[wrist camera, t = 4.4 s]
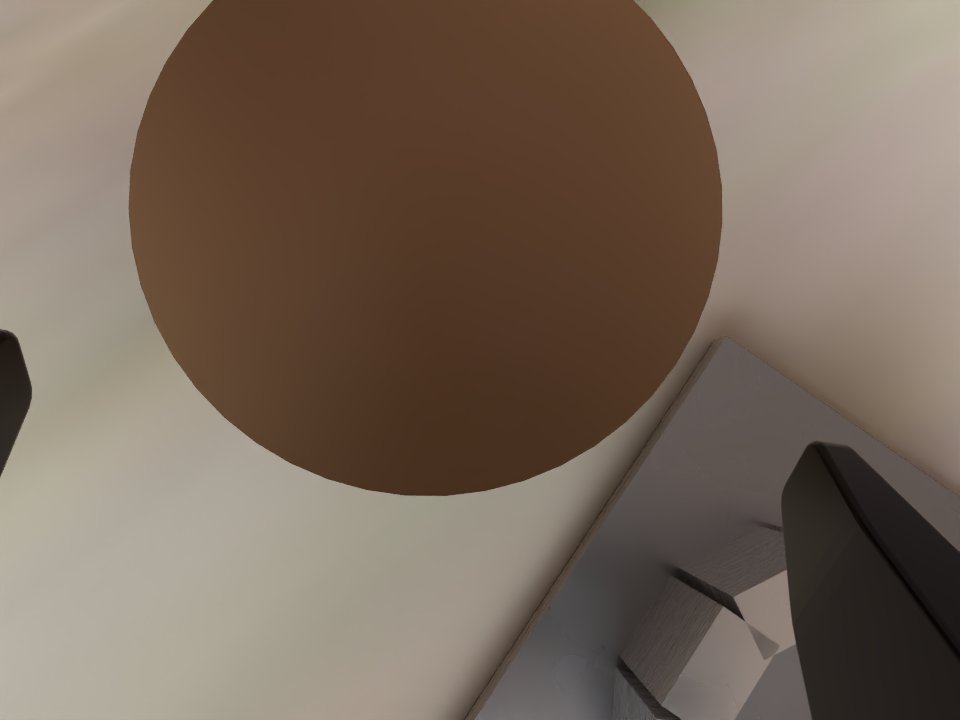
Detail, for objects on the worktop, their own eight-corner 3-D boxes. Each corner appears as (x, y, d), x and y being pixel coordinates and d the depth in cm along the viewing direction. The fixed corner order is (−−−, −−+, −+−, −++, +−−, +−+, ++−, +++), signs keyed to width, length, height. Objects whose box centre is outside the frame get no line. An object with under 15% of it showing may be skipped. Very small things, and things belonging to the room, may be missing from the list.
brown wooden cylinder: (458, 483, 18) (509, 618, 5) (309, 381, 18) (3, 269, 5) (558, 336, 19) (831, 128, 6) (412, 235, 19) (358, -194, 6)
